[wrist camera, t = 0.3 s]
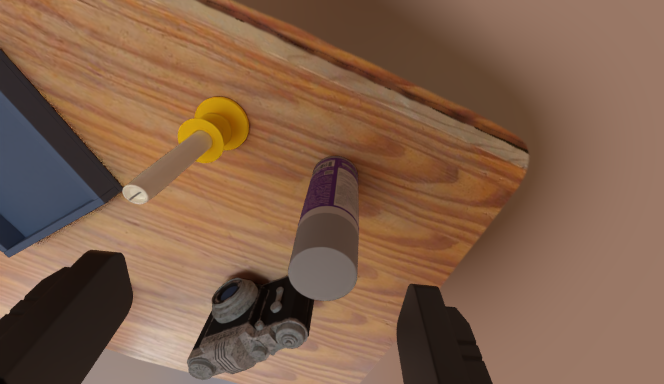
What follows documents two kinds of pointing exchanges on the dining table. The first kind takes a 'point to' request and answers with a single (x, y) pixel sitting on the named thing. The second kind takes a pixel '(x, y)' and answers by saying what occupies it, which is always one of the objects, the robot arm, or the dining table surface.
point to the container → (327, 233)
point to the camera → (250, 326)
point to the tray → (42, 167)
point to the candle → (193, 146)
